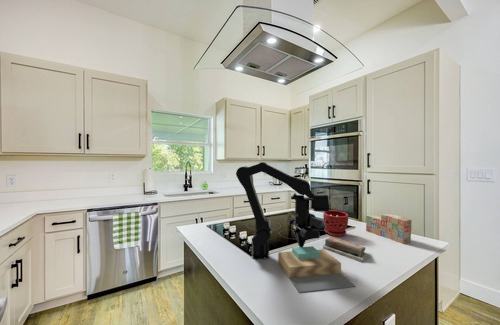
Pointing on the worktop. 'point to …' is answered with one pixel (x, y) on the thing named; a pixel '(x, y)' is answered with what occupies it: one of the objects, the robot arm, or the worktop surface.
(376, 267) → the worktop surface
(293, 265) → the board
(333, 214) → the plant pot
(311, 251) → the teal rectangular block
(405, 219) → the stack of blocks
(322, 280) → the mat
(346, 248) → the packaged product
